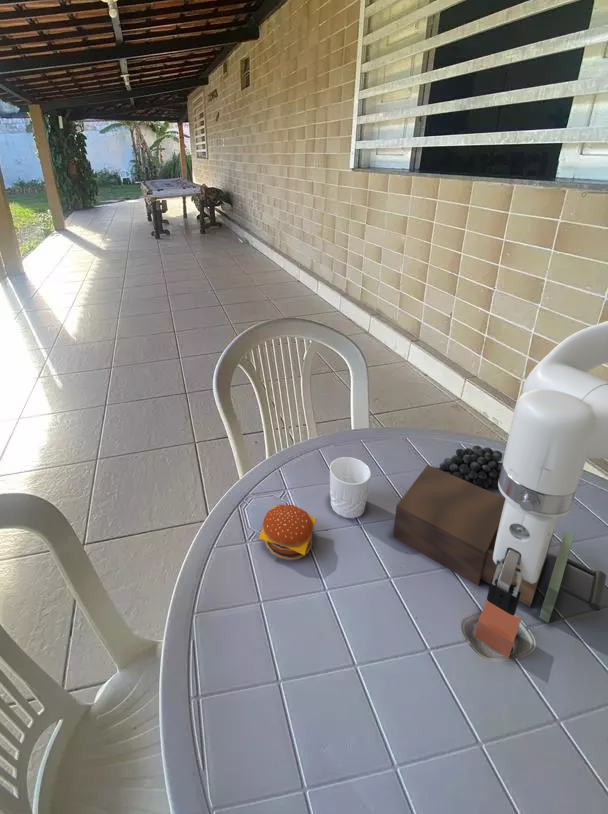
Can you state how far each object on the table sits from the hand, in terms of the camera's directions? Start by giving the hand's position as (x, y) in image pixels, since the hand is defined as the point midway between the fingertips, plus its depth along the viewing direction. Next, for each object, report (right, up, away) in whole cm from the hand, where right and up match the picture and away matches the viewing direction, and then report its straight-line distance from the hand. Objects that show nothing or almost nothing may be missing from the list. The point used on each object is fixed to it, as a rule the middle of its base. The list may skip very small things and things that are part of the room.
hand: (509, 583), depth 59 cm
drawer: (+11, -6, +12) cm, 18 cm away
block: (+1, -11, +4) cm, 12 cm away
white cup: (-14, -3, +29) cm, 32 cm away
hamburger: (-28, -6, +22) cm, 36 cm away
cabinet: (+2, -5, +21) cm, 22 cm away
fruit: (+13, +1, +34) cm, 37 cm away
